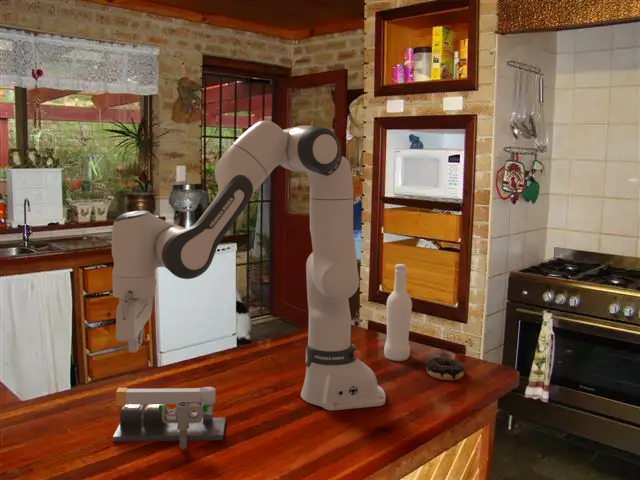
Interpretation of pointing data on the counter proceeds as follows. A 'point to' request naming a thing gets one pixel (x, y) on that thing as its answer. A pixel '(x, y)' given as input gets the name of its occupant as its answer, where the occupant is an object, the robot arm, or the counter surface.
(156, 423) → the block
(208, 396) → the lever
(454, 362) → the donut
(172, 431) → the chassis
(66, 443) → the counter surface
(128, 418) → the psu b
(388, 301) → the bottle
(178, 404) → the mechanical component
